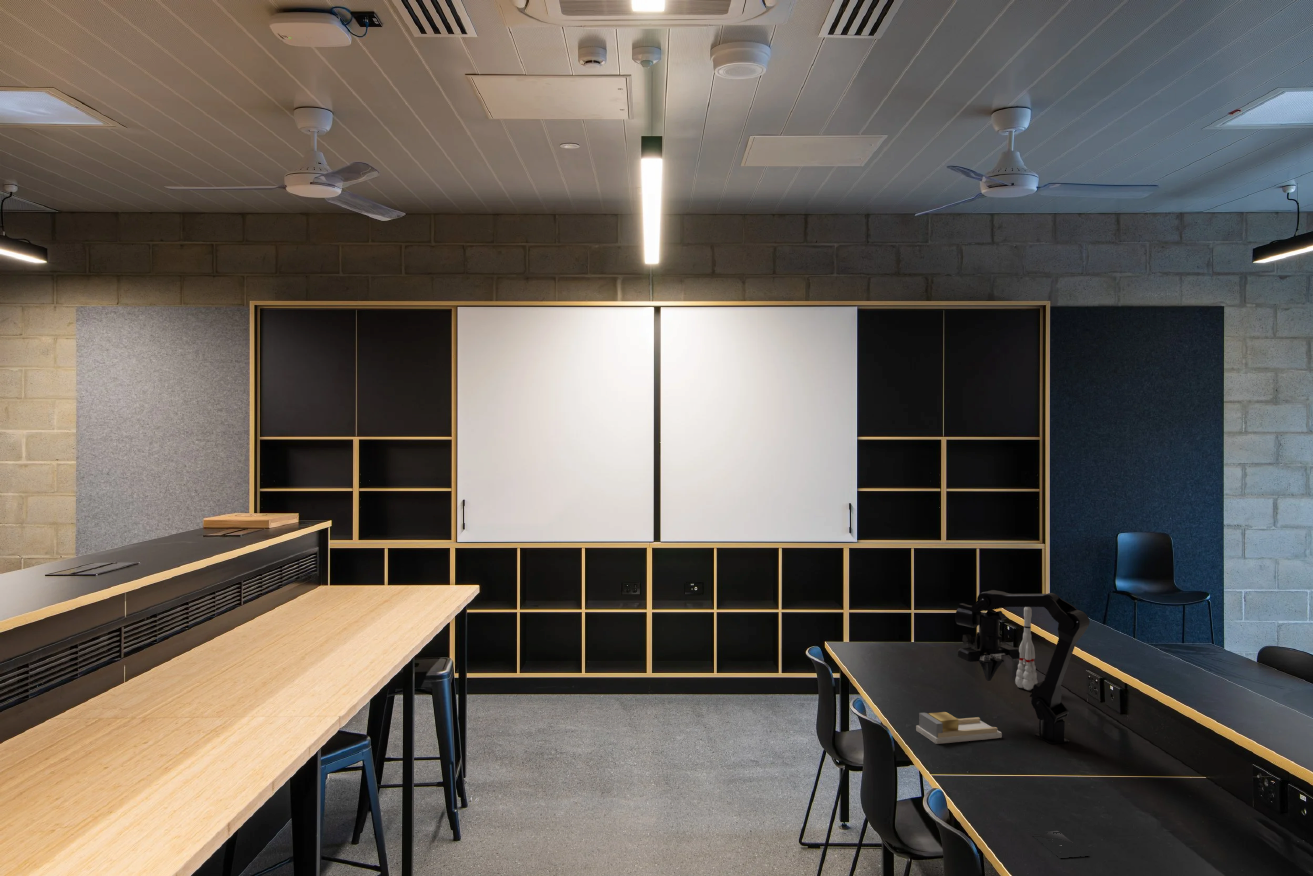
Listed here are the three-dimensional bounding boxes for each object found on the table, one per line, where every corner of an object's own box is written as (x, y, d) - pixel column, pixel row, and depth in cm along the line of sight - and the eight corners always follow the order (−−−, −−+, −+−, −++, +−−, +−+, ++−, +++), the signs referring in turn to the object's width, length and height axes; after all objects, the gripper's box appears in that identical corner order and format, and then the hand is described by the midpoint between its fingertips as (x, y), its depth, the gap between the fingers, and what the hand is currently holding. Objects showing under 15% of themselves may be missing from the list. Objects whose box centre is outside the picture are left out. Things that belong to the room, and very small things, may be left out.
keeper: (945, 725, 228) (945, 712, 228) (958, 733, 222) (958, 719, 222) (928, 726, 226) (928, 713, 226) (940, 734, 220) (940, 721, 220)
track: (979, 725, 233) (979, 707, 233) (1001, 737, 223) (1002, 719, 223) (916, 730, 227) (916, 712, 227) (936, 744, 218) (936, 725, 218)
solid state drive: (1059, 861, 159) (1059, 857, 159) (1029, 835, 169) (1029, 832, 169) (1089, 858, 160) (1089, 855, 160) (1058, 833, 170) (1058, 830, 170)
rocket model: (1012, 684, 272) (1014, 601, 272) (1034, 686, 271) (1036, 602, 270) (1017, 691, 265) (1019, 605, 265) (1040, 693, 263) (1042, 606, 263)
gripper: (997, 623, 248) (996, 671, 248) (947, 626, 244) (946, 674, 244) (1021, 632, 237) (1020, 682, 237) (969, 635, 233) (968, 685, 233)
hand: (988, 680), depth 238 cm, fingers closed
